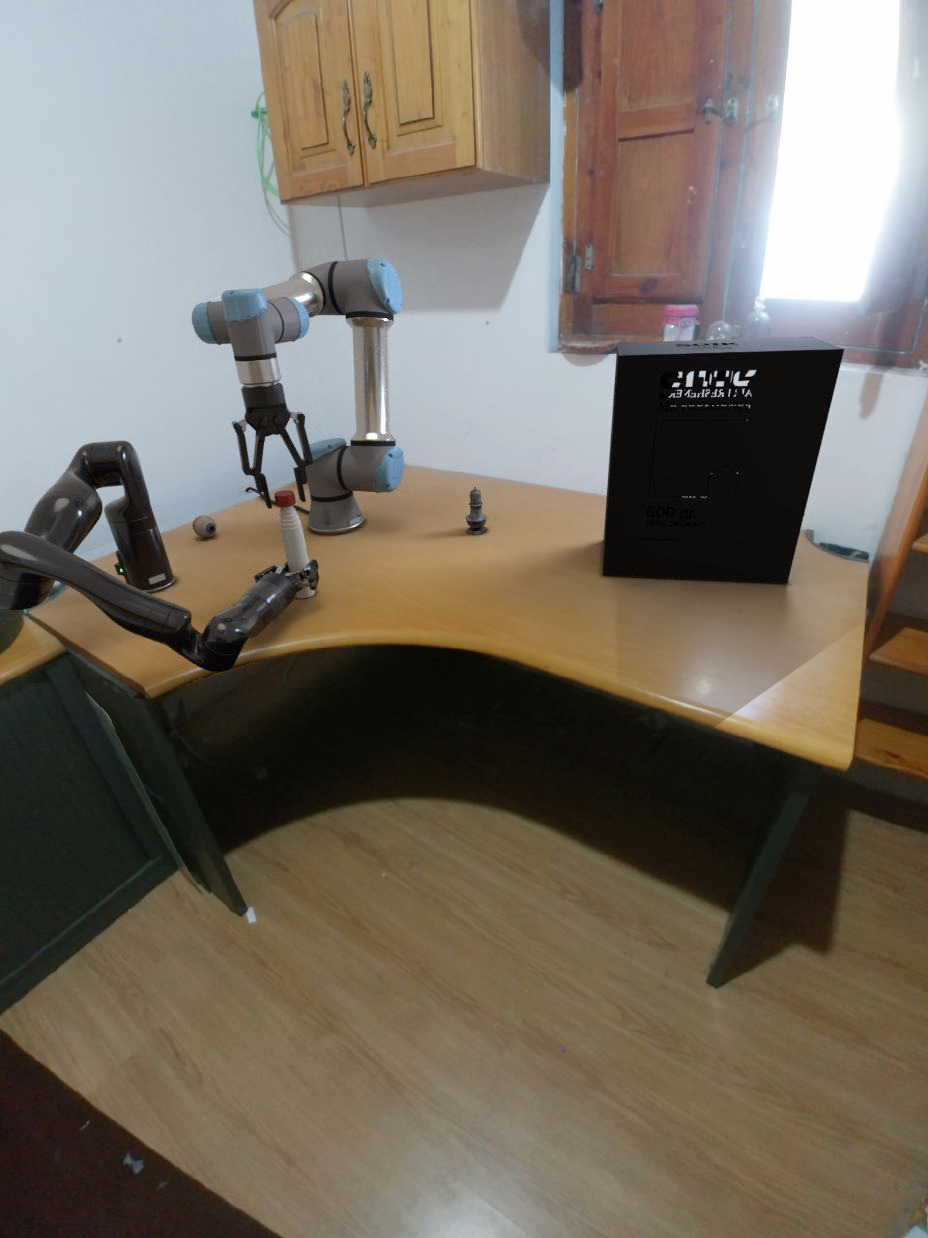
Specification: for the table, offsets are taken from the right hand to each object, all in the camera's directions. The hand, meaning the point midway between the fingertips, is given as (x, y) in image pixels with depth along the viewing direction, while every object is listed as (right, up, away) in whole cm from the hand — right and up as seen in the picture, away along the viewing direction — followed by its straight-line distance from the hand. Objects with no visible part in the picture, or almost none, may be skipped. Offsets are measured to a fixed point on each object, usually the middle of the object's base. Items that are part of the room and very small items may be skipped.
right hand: (286, 503), depth 123 cm
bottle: (+1, -18, +10) cm, 21 cm away
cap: (0, +2, -1) cm, 2 cm away
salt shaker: (+40, 0, +37) cm, 55 cm away
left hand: (+1, -11, +10) cm, 15 cm away
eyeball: (-34, -1, +43) cm, 55 cm away
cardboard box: (+88, -10, +15) cm, 89 cm away
